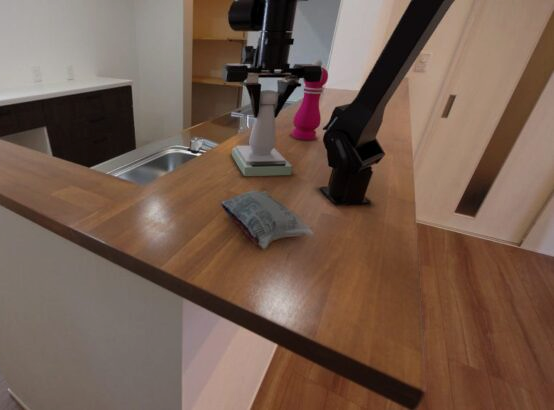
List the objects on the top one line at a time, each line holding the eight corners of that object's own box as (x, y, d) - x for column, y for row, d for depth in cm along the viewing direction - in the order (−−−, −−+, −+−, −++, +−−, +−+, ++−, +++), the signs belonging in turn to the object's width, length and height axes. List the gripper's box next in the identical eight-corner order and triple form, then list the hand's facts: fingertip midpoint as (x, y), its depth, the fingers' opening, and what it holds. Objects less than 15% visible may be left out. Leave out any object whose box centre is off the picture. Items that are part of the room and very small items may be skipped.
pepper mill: (285, 134, 89) (298, 59, 79) (306, 132, 91) (321, 58, 81) (300, 141, 83) (316, 61, 73) (322, 139, 85) (340, 61, 75)
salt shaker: (266, 159, 64) (275, 94, 57) (243, 153, 67) (248, 91, 60) (278, 151, 68) (287, 90, 61) (255, 146, 71) (262, 87, 64)
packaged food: (264, 205, 52) (268, 179, 49) (311, 245, 42) (319, 215, 40) (218, 215, 49) (219, 188, 46) (257, 260, 39) (262, 229, 37)
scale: (290, 175, 63) (293, 163, 62) (244, 176, 62) (245, 164, 61) (272, 154, 73) (273, 144, 72) (231, 155, 73) (232, 145, 71)
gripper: (306, 32, 63) (293, 108, 71) (219, 31, 62) (214, 109, 69) (333, 32, 54) (314, 120, 61) (230, 31, 52) (224, 121, 60)
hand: (265, 117), depth 63 cm, fingers closed on salt shaker, 4 cm apart
